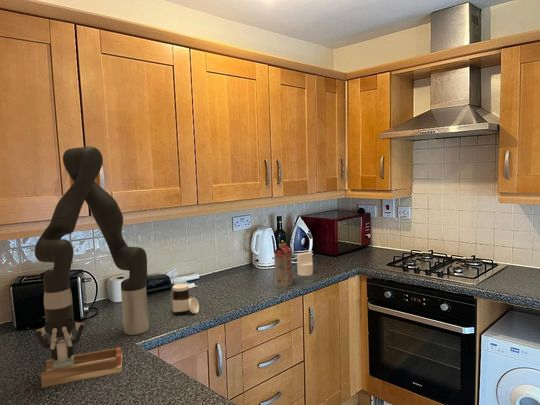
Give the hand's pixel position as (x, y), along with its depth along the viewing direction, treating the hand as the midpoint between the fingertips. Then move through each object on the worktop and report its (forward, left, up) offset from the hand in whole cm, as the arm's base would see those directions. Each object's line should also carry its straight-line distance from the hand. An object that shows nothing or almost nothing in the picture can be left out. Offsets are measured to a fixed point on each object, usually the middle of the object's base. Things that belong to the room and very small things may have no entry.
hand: (63, 358), depth 120 cm
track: (0, +6, -6) cm, 8 cm away
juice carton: (-57, +97, -6) cm, 112 cm away
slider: (0, 0, -4) cm, 4 cm away
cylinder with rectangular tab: (-71, +116, -6) cm, 136 cm away
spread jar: (-39, +43, -6) cm, 58 cm away
